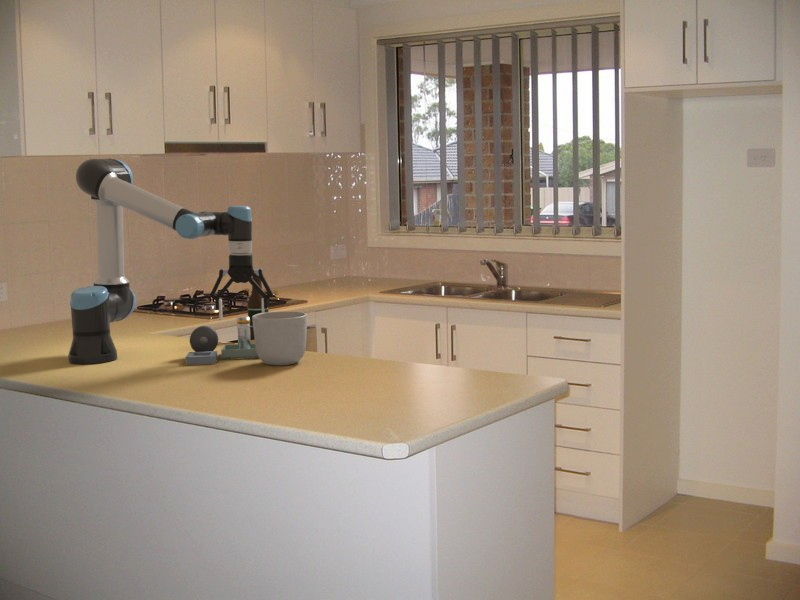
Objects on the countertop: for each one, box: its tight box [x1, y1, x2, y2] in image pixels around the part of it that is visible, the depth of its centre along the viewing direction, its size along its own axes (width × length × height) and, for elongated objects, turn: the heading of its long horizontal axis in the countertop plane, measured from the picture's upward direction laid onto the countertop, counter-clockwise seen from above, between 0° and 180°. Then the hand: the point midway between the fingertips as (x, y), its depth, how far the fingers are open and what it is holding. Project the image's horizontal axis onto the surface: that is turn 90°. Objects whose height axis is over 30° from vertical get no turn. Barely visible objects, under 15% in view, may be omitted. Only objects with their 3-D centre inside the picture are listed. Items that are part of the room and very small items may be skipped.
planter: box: [252, 310, 308, 367], centre depth 314 cm, size 17×17×15 cm
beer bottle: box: [247, 273, 269, 340], centre depth 363 cm, size 8×8×24 cm
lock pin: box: [236, 316, 252, 349], centre depth 329 cm, size 4×4×12 cm
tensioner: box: [185, 325, 219, 366], centre depth 324 cm, size 9×17×10 cm, turn 5°
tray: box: [220, 343, 260, 360], centre depth 329 cm, size 14×10×3 cm
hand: (242, 319), depth 328 cm, fingers open, 13 cm apart
